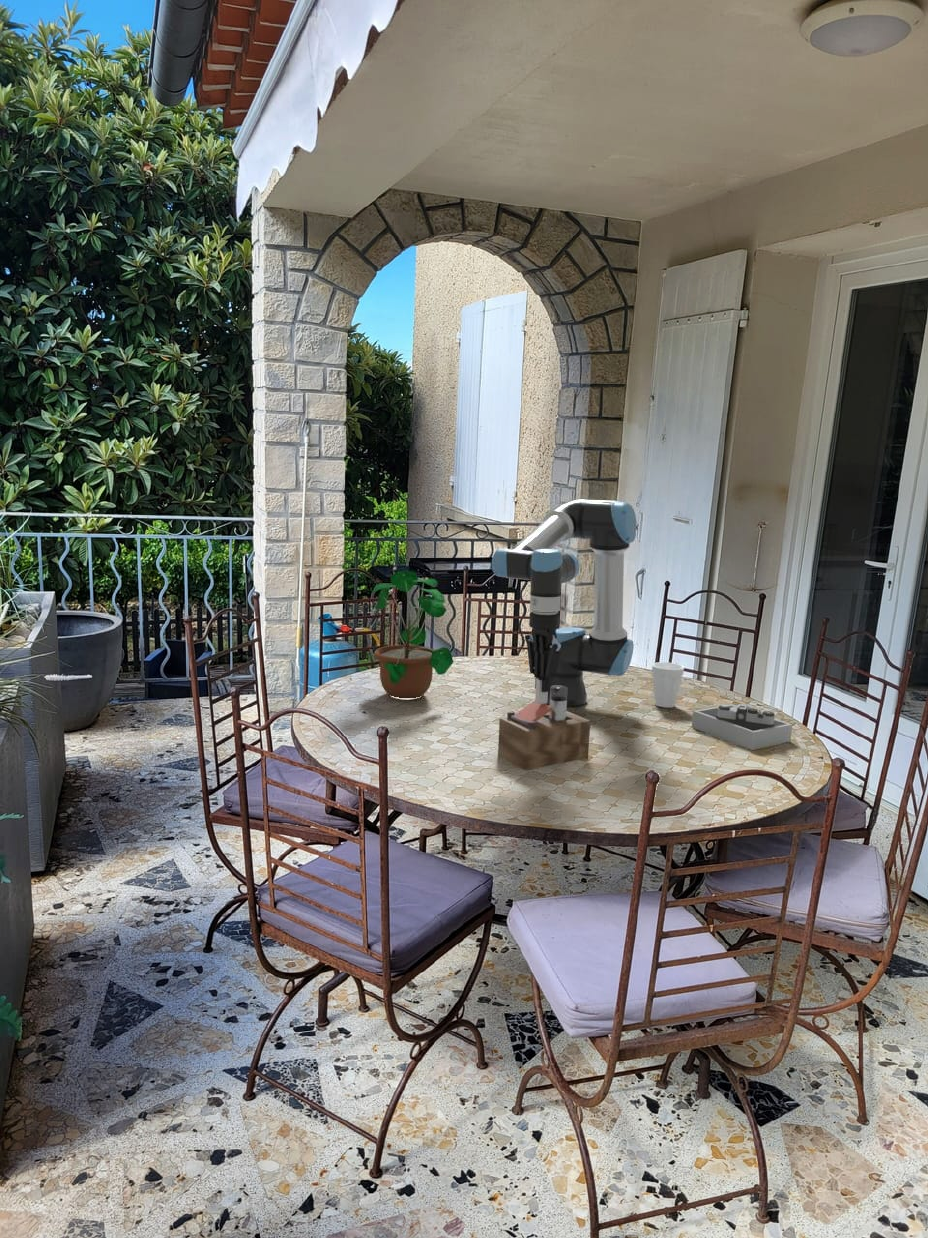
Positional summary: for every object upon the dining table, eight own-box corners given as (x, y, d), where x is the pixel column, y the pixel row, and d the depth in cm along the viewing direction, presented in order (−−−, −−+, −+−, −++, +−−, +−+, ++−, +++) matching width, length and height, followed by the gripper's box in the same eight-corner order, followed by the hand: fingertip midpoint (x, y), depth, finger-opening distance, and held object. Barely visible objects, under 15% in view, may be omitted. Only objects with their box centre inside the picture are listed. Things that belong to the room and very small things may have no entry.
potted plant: (426, 715, 258) (430, 582, 251) (349, 698, 273) (351, 572, 266) (480, 693, 284) (485, 572, 277) (407, 678, 299) (410, 563, 291)
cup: (646, 707, 275) (649, 667, 272) (651, 700, 284) (654, 660, 281) (678, 712, 271) (682, 671, 269) (683, 704, 280) (686, 664, 278)
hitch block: (559, 744, 237) (561, 702, 234) (587, 758, 227) (590, 714, 225) (497, 755, 226) (499, 712, 224) (525, 770, 216) (527, 725, 214)
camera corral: (729, 720, 265) (730, 704, 264) (790, 741, 246) (792, 724, 245) (691, 727, 256) (693, 710, 255) (752, 750, 238) (753, 732, 237)
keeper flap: (536, 702, 227) (535, 699, 226) (553, 709, 221) (552, 706, 220) (511, 719, 223) (510, 716, 223) (527, 727, 217) (526, 724, 217)
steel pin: (556, 743, 231) (560, 684, 228) (567, 748, 228) (571, 688, 225) (543, 745, 229) (547, 686, 226) (554, 750, 225) (557, 690, 222)
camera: (773, 737, 252) (777, 703, 250) (771, 747, 242) (774, 712, 241) (717, 728, 257) (720, 696, 256) (713, 738, 248) (716, 704, 246)
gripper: (517, 608, 222) (514, 698, 226) (548, 617, 211) (545, 712, 215) (540, 606, 226) (537, 694, 230) (573, 615, 215) (569, 707, 219)
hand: (541, 703), depth 223 cm, fingers closed
